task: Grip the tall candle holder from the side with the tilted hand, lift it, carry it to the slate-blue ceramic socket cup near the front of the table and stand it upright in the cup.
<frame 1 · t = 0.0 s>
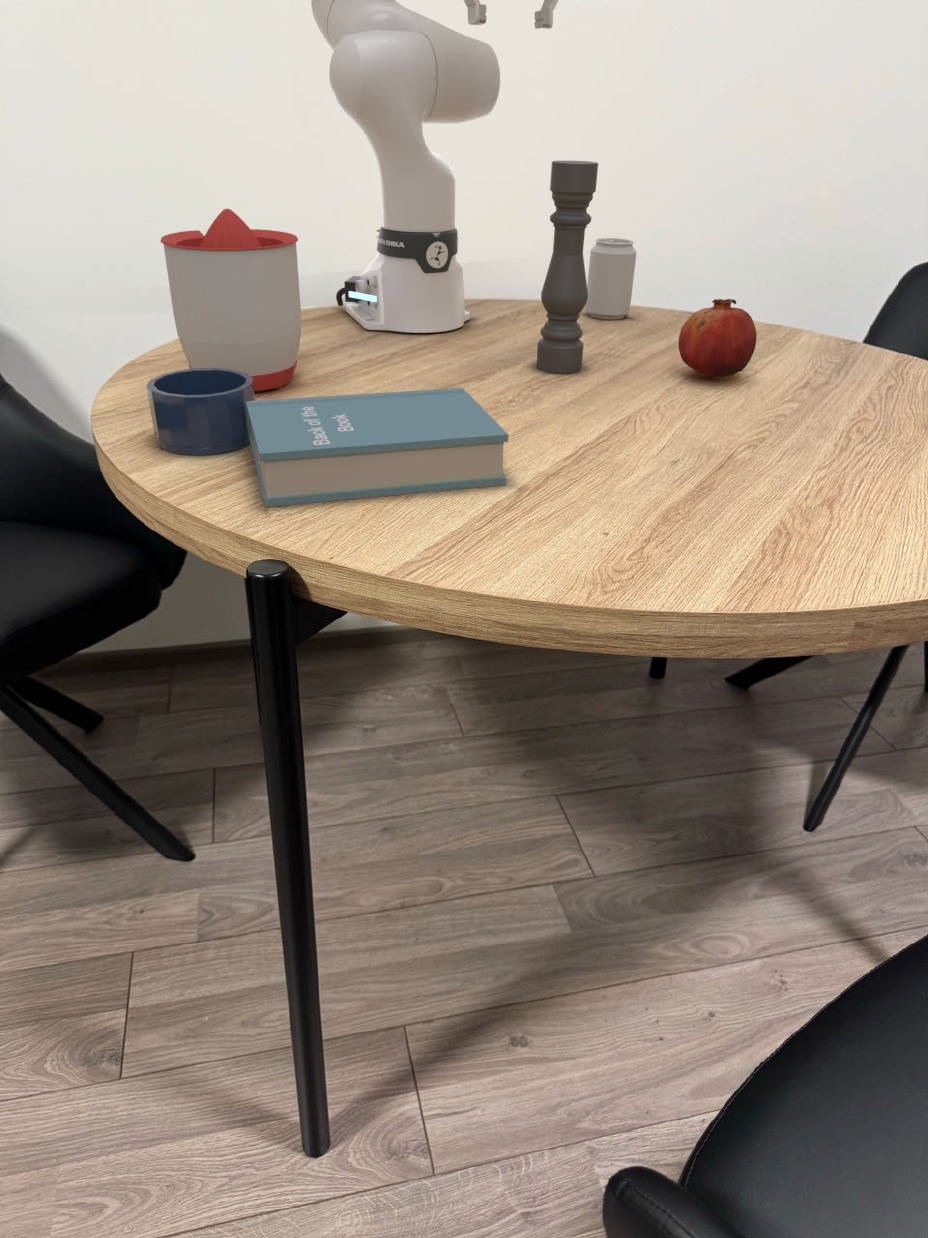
hand: (511, 26, 103), 39 cm above the table, tool pointing down, fingers open, 8 cm apart
book: (372, 466, 87), on the table
can: (606, 316, 149), on the table
citrus juicer: (244, 381, 111), on the table
fruit: (711, 378, 118), on the table
candle holder: (558, 368, 120), on the table
socket cup: (208, 437, 93), on the table
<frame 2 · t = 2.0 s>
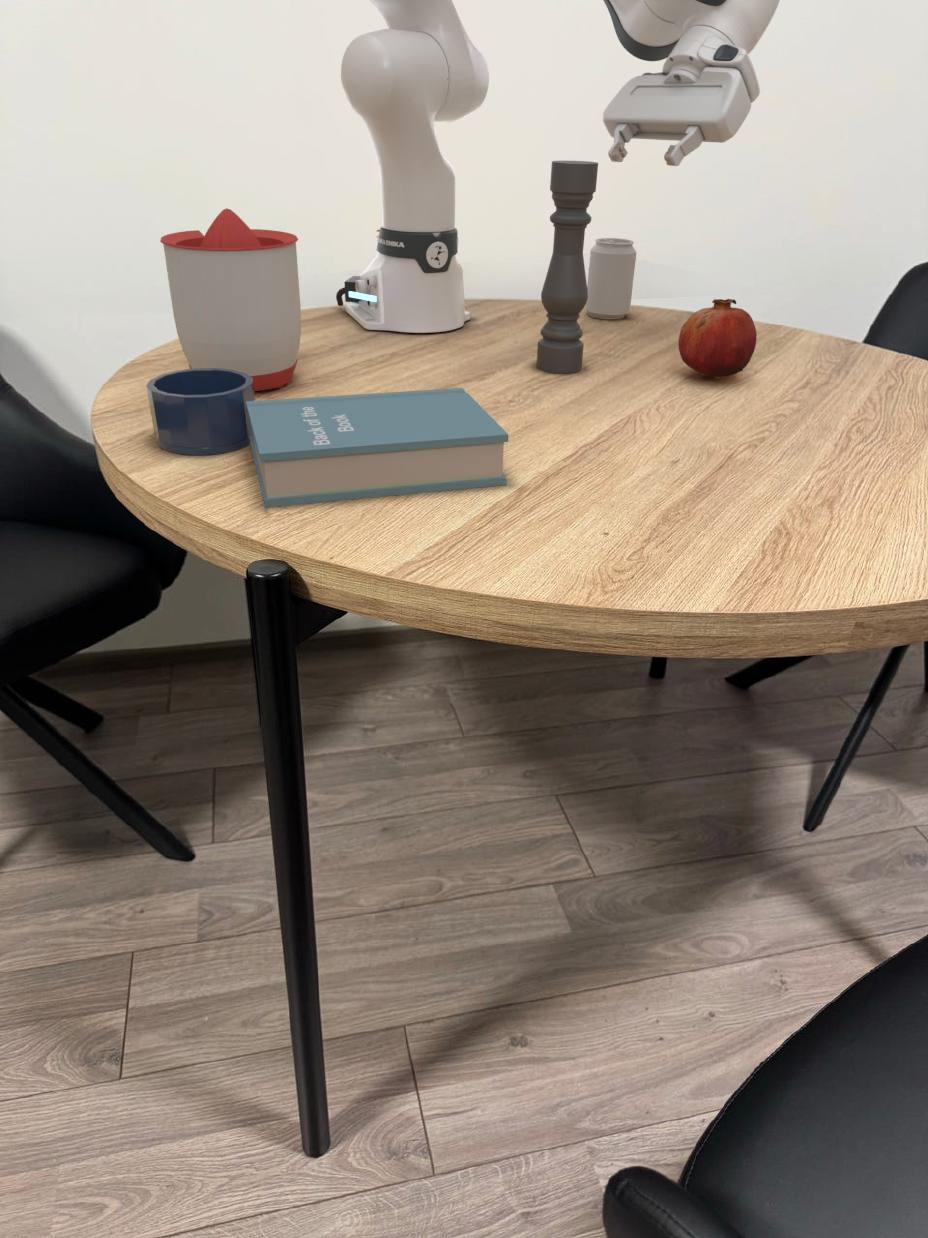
hand: (641, 160, 114), 25 cm above the table, tool tilted 45°, fingers open, 8 cm apart
nothing on the table moved.
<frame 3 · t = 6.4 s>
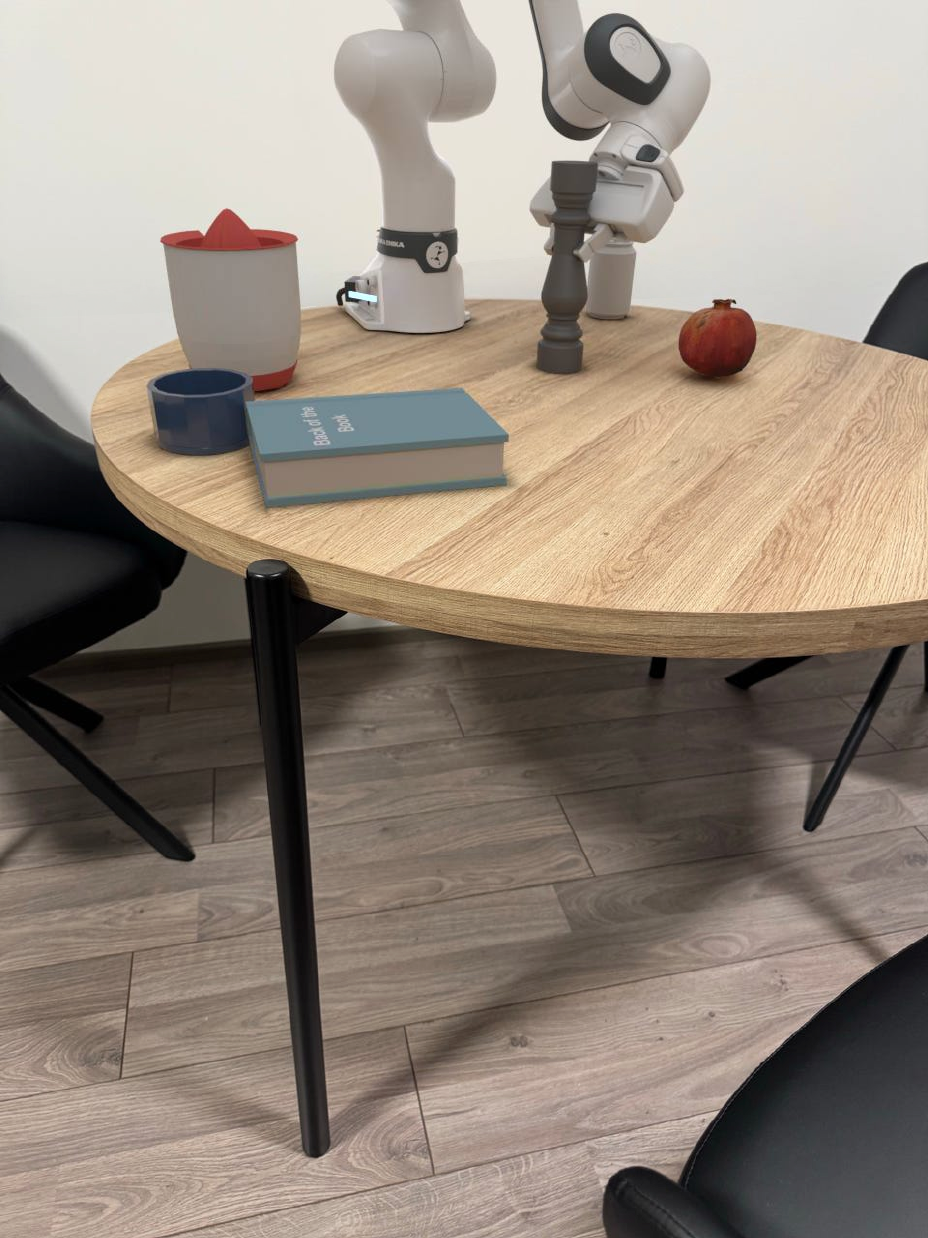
hand: (564, 255, 112), 14 cm above the table, tool tilted 45°, fingers closed on candle holder, 4 cm apart
candle holder: (558, 368, 120), on the table, touching gripper
everything else where it was.
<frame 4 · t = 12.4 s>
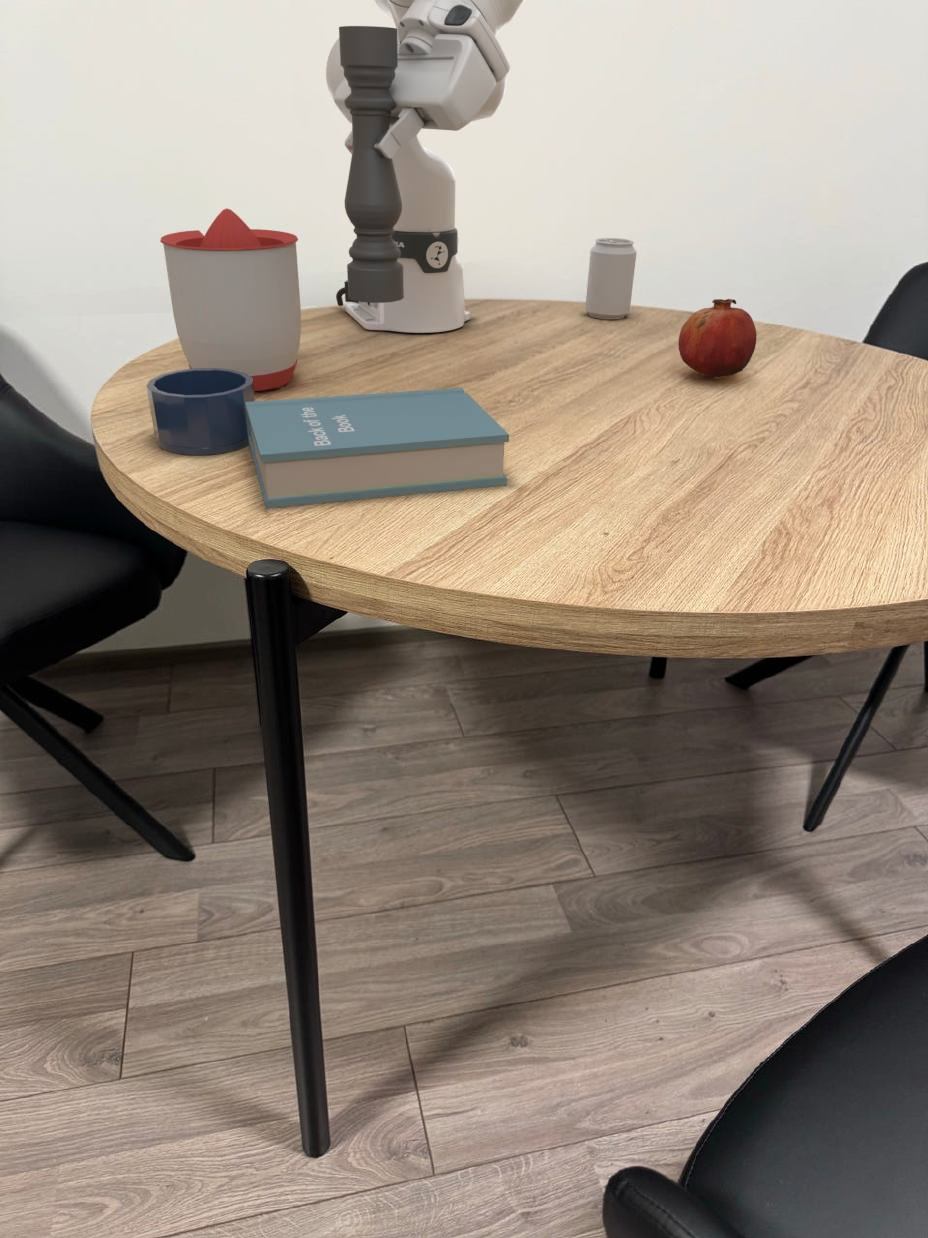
hand: (366, 151, 90), 27 cm above the table, tool tilted 45°, fingers closed on candle holder, 4 cm apart
candle holder: (376, 298, 98), point 12 cm above the table, touching gripper
everything else where it was.
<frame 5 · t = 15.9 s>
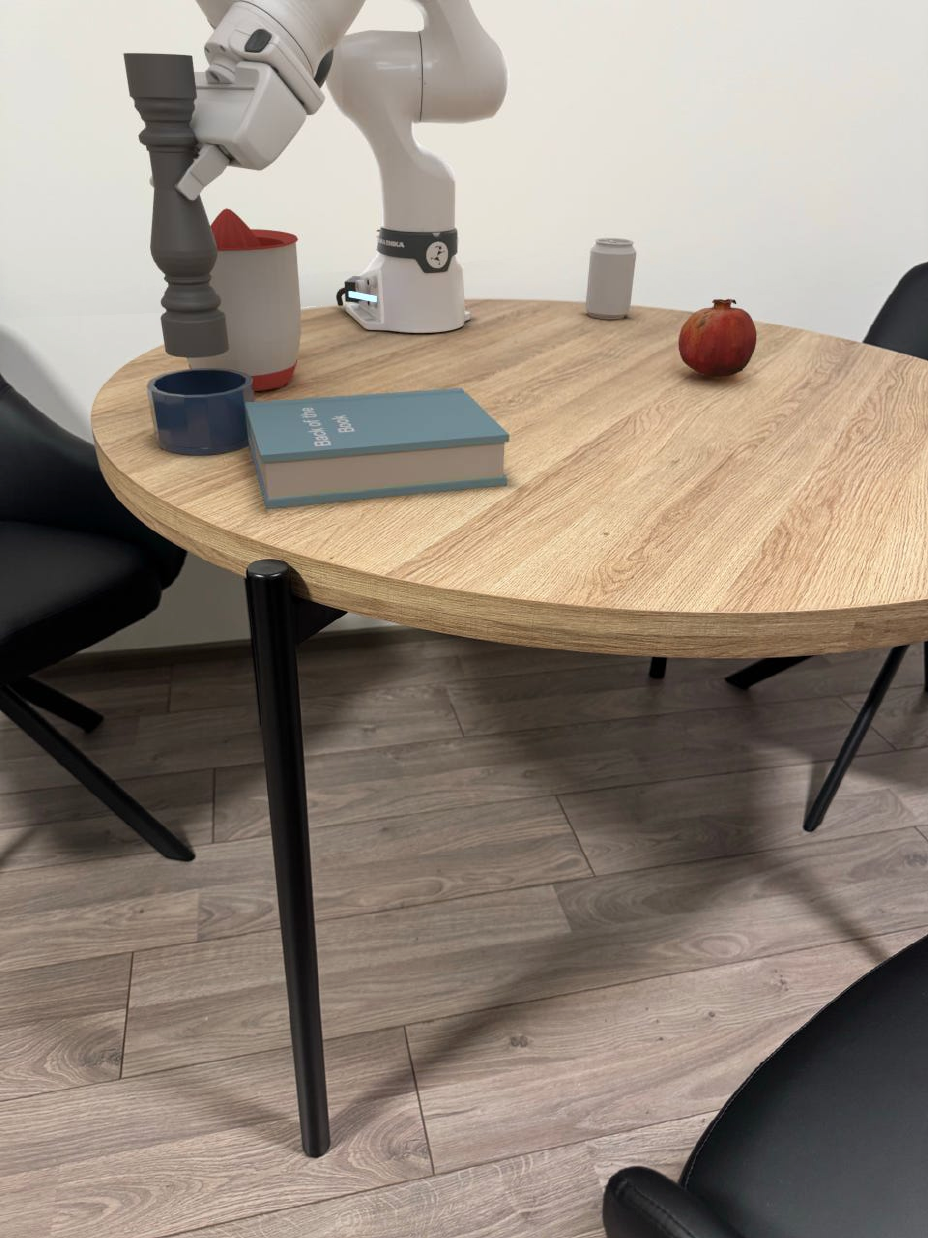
hand: (170, 191, 80), 24 cm above the table, tool tilted 45°, fingers closed on candle holder, 4 cm apart
candle holder: (197, 351, 88), point 9 cm above the table, touching gripper
everything else where it was.
when the fingers open (15 cm above the table, at t = 18.6 s): candle holder stays where it is, resting on socket cup.
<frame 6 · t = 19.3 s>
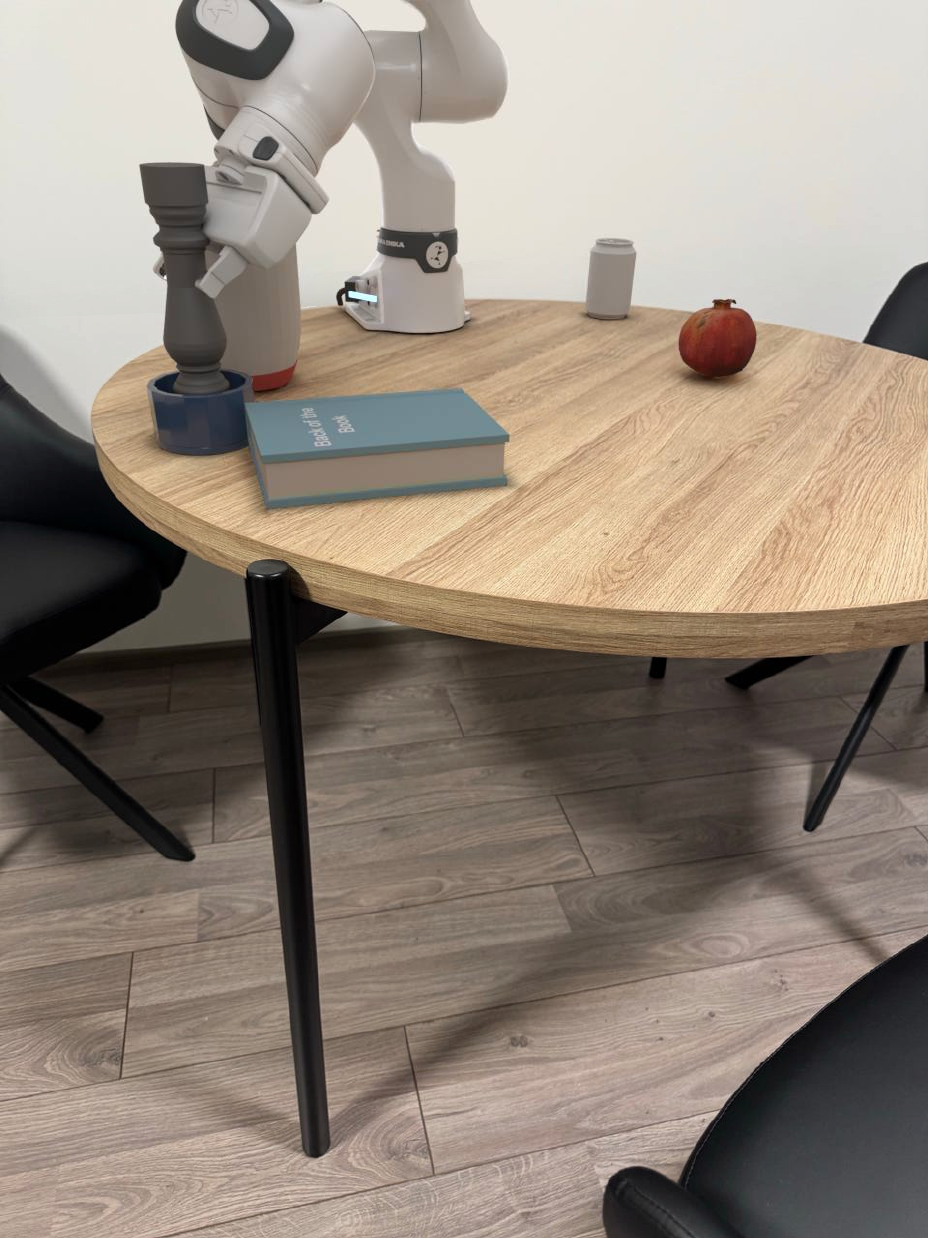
hand: (181, 284, 84), 16 cm above the table, tool tilted 45°, fingers open, 8 cm apart
candle holder: (207, 432, 92), point 1 cm above the table, touching socket cup
everything else where it was.
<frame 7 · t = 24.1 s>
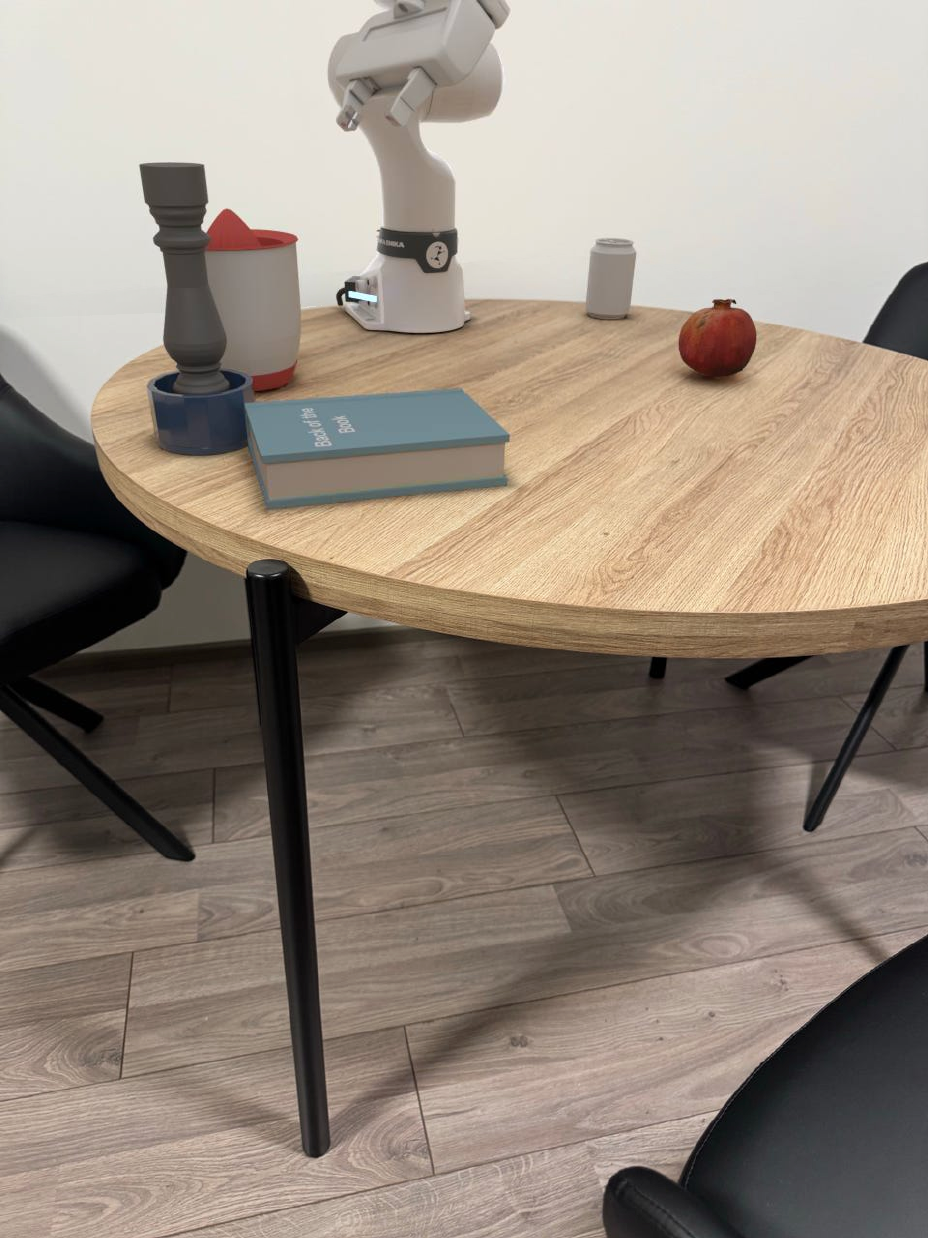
hand: (367, 124, 85), 29 cm above the table, tool tilted 40°, fingers open, 8 cm apart
nothing on the table moved.
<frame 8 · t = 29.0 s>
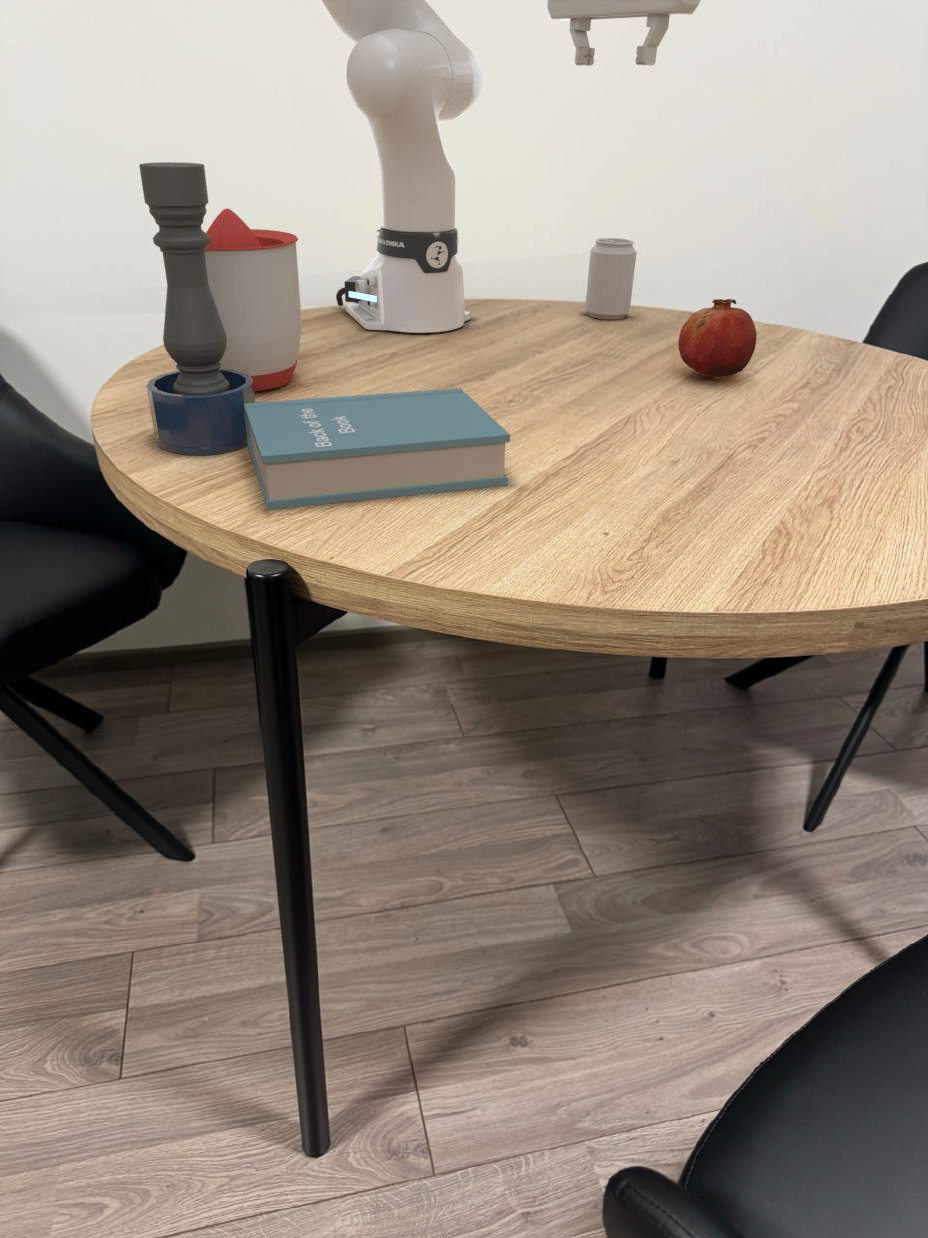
hand: (613, 65, 102), 35 cm above the table, tool pointing down, fingers open, 8 cm apart
nothing on the table moved.
at the end: candle holder 0.0 cm off-centre in the socket cup, point 0.6 cm above the socket cup's base; candle holder tilted 0°; the gripper is holding nothing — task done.
